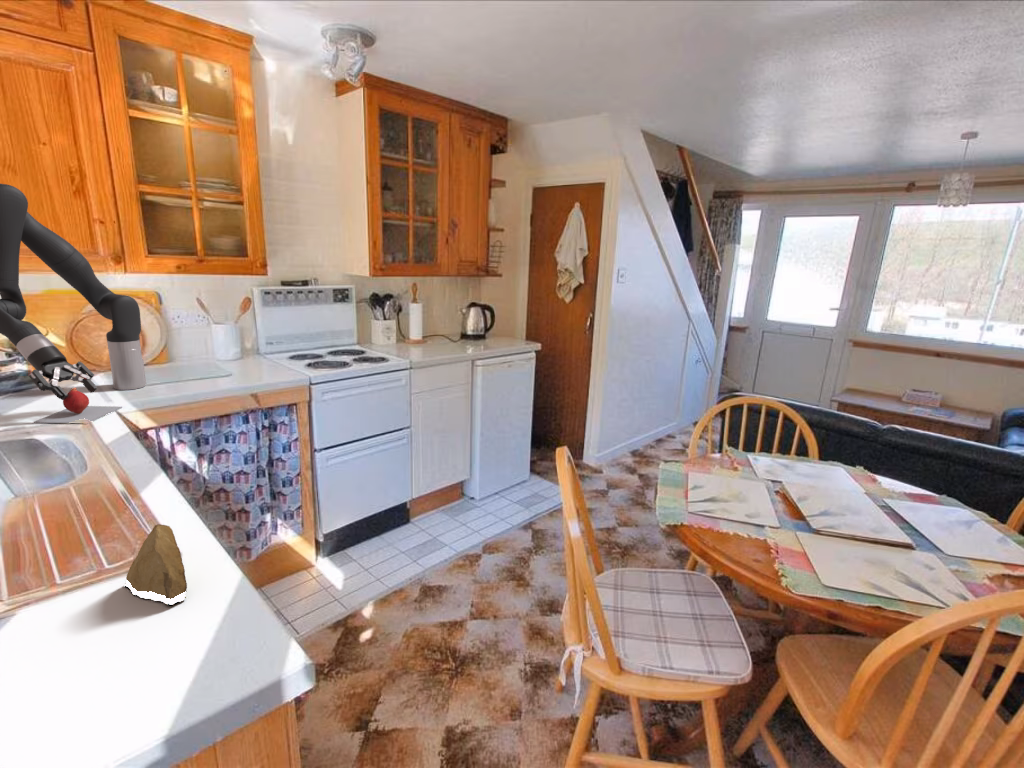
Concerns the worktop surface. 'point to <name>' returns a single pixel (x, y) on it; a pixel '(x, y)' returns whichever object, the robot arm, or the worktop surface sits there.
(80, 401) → the onion
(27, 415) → the worktop surface
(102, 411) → the mat
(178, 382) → the worktop surface
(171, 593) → the rock
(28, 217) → the robot arm
